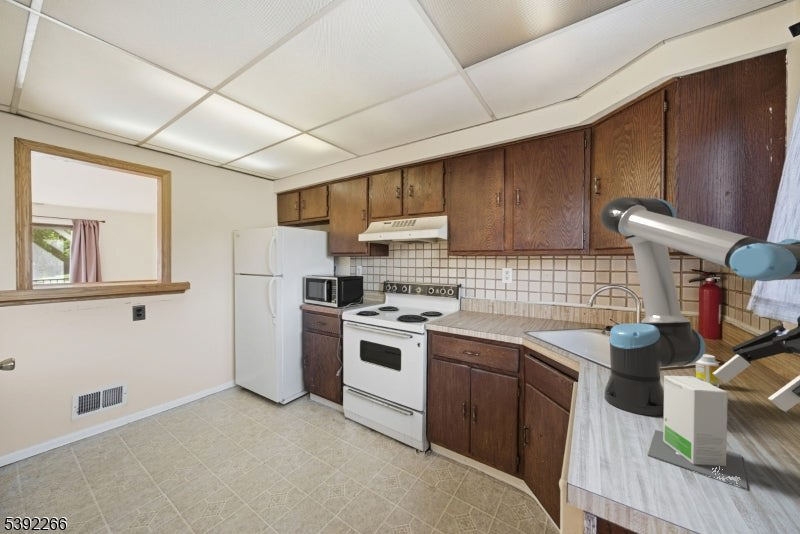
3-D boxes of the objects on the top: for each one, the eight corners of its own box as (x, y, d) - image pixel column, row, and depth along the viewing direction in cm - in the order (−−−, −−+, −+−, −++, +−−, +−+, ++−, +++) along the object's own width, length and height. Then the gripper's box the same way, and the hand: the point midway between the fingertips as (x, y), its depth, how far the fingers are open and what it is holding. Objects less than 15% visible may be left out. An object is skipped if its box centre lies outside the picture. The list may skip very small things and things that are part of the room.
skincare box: (662, 442, 68) (660, 374, 68) (693, 443, 67) (692, 375, 67) (694, 466, 60) (692, 389, 60) (731, 468, 59) (728, 390, 59)
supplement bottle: (720, 385, 101) (719, 355, 101) (718, 389, 97) (717, 358, 97) (697, 380, 105) (696, 352, 105) (695, 384, 102) (694, 355, 102)
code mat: (647, 455, 64) (647, 454, 64) (655, 430, 73) (655, 429, 73) (747, 490, 53) (747, 488, 53) (741, 456, 63) (741, 454, 63)
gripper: (964, 350, 44) (832, 438, 47) (793, 321, 68) (714, 381, 71) (911, 314, 45) (787, 402, 49) (762, 298, 69) (687, 358, 73)
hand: (744, 390), depth 60 cm, fingers open, 13 cm apart
